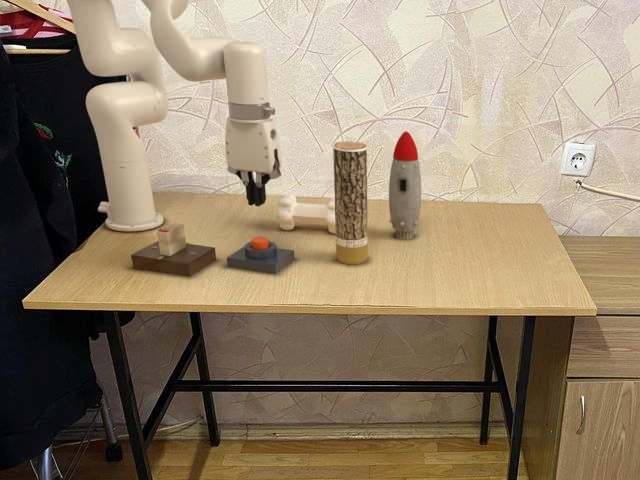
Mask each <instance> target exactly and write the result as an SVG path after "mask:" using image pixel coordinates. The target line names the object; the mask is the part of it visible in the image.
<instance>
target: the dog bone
mask: <svg viewBox="0 0 640 480" xmlns="http://www.w3.org/2000/svg"><path fill="white" fill-rule="evenodd" d="M277 201H278V202H277V203H278V210H277V215H276V217H277V219H278V222H279V227H280V229H282V230H284V231H292V230H293V229H294V228H295V226H296V225H297V224H308V225H309V224H311V225H322V226H323V225H325V226H327V230H328V232H329V233H331V234H333V235H334V234H335V235H336V226H335V196H334V197H332V198H331V199H330V200H329V202H328V203H327V204H319V203H306V202H305V203H303V202H297V197H296V196H295V195H294V194H293V193H285V194H283V195H282V196H281V198H280V199H279V200H277Z"/></svg>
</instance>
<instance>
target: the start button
mask: <svg viewBox="0 0 640 480" xmlns="http://www.w3.org/2000/svg"><path fill="white" fill-rule="evenodd" d="M269 241H270V239H269V238H268V237H266V236H255V237H252V238H251V239H250V242H251V246H252V248H253V249H267V248H269Z"/></svg>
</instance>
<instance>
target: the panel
mask: <svg viewBox="0 0 640 480" xmlns="http://www.w3.org/2000/svg"><path fill="white" fill-rule="evenodd" d="M186 246H187V247H185V248H183V249H182V250H180V251H178V252H177V253H175V254H173V255H171V256H165V255H161V254H160V248H159V241H158V240H156V241H155V242H153V243H151V244H149V245H147V246H145V247H143V248H141V249H139V250H137V251H135V252H134V253H132V254H131V255H130V257H131V262H132V268H133V269H134V270H140V271H150V272H157V273H163V274H169V275H173V276H174V275H175V276H182V277H188V278H192V277H193V276H194V275H196V274H197V273H199V272H200V271H202V270H203V269H205V268H206V267H208V266H210V265H212V264H213V263H214V262H216V261H217V254H216V247H214V246H207V245H200V244H193V243H189V242H187V241H186Z"/></svg>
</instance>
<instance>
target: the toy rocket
mask: <svg viewBox="0 0 640 480" xmlns="http://www.w3.org/2000/svg"><path fill="white" fill-rule="evenodd" d="M392 155H393V156H392V161H391V166H390V172H389V182H388V183H389V185H388V207H389V216H390V219H389V223H390V224H391V225H392V230H394V231H395V237H396V238H397V239H400V240H410V239H412V238H413V237H414V234H415V233H414V232H415V231H416V230H417V228H418V224H419V220H420V216H421V215H420V214H421V205H422V176H421V175H422V173H421V167H420V161H419V153H418V147H417V145H416V143H415V141H414V138H413V137H412V135H411V133H410V132H409V131H407V130H406V131H403V132H402V133H401V135H400V136H399V138H398V140H397V142H396V144H395V146H394V150H393V153H392Z"/></svg>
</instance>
